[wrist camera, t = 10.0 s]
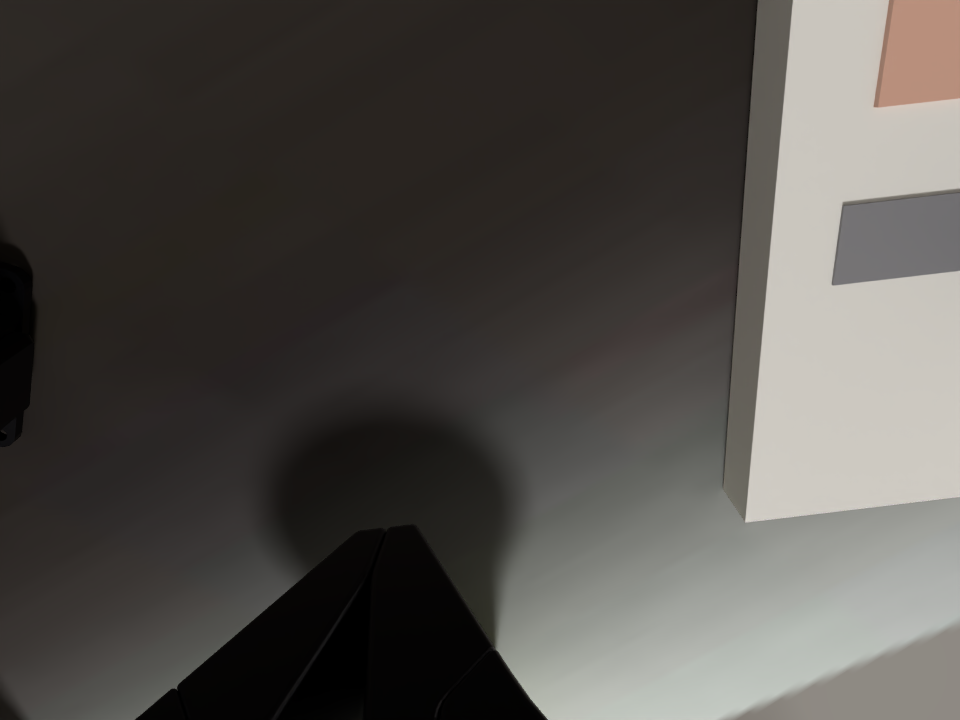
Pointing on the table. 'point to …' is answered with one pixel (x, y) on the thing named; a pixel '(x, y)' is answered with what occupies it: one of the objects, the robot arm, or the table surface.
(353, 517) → the table surface
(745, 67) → the table surface
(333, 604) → the robot arm
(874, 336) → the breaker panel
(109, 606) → the table surface
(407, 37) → the table surface
